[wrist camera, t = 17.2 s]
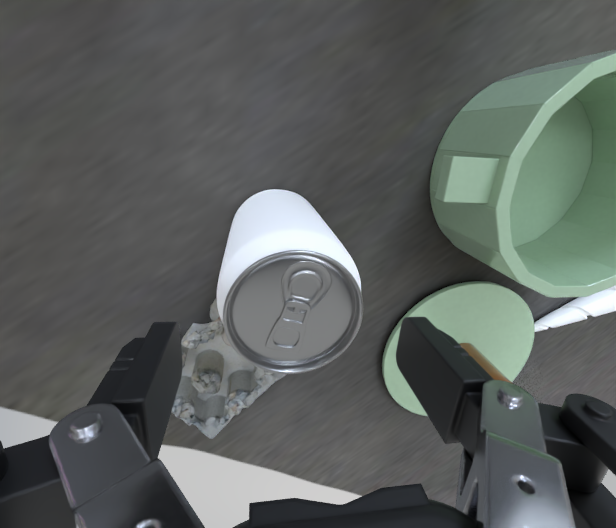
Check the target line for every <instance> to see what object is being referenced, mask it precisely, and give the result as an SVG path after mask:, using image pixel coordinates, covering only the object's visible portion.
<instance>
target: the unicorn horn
mask: <svg viewBox="0 0 616 528" xmlns="http://www.w3.org/2000/svg"><path fill="white" fill-rule="evenodd" d="M613 311H616V286H613V287H611V288H608V289H605V290H603V291H600V292H598V293H595V294H592V295H590V296H587V297H578V298H576V299H574V300H573V301H571V302H569V303H567V304H565V305H564V306H562V307H561V308H559V309H557V310H555V311H553V312H551V313H549V314H548V315H546V316H544V317H543V318H541V319H539V320H538V321H536V322H535V323H534V327H535V331H534V332H537V331H541V330H546V329H548V327H552V328H554V327H558V326H562V325H566V324H570V323H573V322H577V321H581V320H584V319H587V316H588V315H592V316H593V317H595V316H599V315H602V314H606V313H610V312H613Z"/></svg>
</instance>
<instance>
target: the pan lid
mask: <svg viewBox="0 0 616 528" xmlns="http://www.w3.org/2000/svg"><path fill="white" fill-rule="evenodd" d="M405 317H426V318H427V319H428V320H429V321H430V322H431V323H432V324H433V325H434V326H435V327H436V328H437V329H440V330H441V331H443V332H445V333H446V334H448V335H450V336H451V337H453V338H454V339H455V340H456V341H457V342H458V343H459V344H460V345H461V348H464V349H465V350H466V351H467V352H468V353H469V356H472V357H473V358H474V359H475V360H476V362H477V363H478V364H479V365H480V366H481V367H482V368H483V369H484V370H485V371H486V372H487V373H488V374H489V375H490V376H491V377H492V378H493V379H494V380H501V381H506V382H509V383H512V381H513V380H514V379H515V378H516V377H517V375H518V374H519V372H520V371H521V370H522V368H523V366H524V365H525V363H526V361H527V359H528V357H529V355H530V352H531V349H532V346H533V341H534V331H535V327H534V320H533V316H532V313H531V311H530V309H529V307H528V305H527V304H526V303H525V301H524V300H523V299H522V298H521V297H520V296H519V295H518V294H516V293H515V292H513V291H512V290H510V289H508V288H507V287H505V286H502V285H499V284H496V283H491V282H483V281H473V282H464V283H459V284H455V285H452V286H449V287H446V288H443V289H441V290H439V291H437V292H434V293H433V294H431V295H429V296H428V297H426V298H424V299H423V300H422V301H420V302H419V303H417V304H416V305H415V306H414V307H413V308H412V309H410V310H409V311H408V312H407V313H406V314H405V316H404V317H403V318H402V319H401V320H400V321H399V323H398V324H397V325H396V327H395V328H394V330H393V332H392V333H391V335H390V337H389V339H388V341H387V344H386V346H385V350H384V354H383V360H382V374H383V378H384V382H385V385H386V387H387V389H388V391H389V393H390V394H391V396H392V397H393V399H394V400H395V401H396V402H397V403H398V404H399V405H401V406H402V407H403V408H405V409H407V410H409V411H411V412H413V413H416V414H419V415H424V416H428V415H427V414H426V412H425V410H424V409H423V407H422V405H421V404H420V402H419V401H418V399H417V397H416V396H415V394H414V393H413V391H412V389H411V388H410V386H409V385H408V383H407V381H406V380H405V378H404V377H403V375H402V373H401V372H400V370H399V368H398V366H397V362H396V349H397V344H398V339H399V334H400V329H401V324H402V320H403V319H404V318H405ZM512 384H513V383H512Z"/></svg>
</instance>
